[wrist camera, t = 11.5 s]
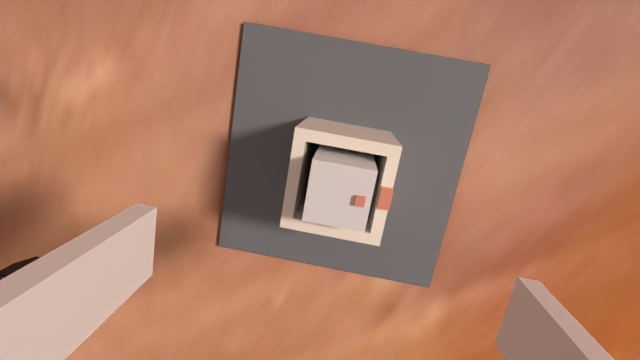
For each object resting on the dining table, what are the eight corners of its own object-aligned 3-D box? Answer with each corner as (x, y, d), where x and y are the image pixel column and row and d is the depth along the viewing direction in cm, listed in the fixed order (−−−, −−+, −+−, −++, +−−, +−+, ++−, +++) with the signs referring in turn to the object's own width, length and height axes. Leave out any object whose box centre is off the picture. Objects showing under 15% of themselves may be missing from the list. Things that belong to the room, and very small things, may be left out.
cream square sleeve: (295, 194, 34) (278, 229, 26) (308, 116, 32) (294, 127, 24) (373, 209, 34) (380, 249, 26) (390, 131, 32) (403, 148, 24)
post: (219, 244, 36) (167, 308, 26) (245, 22, 31) (192, -8, 21) (428, 285, 36) (459, 367, 25) (489, 65, 31) (558, 56, 20)
